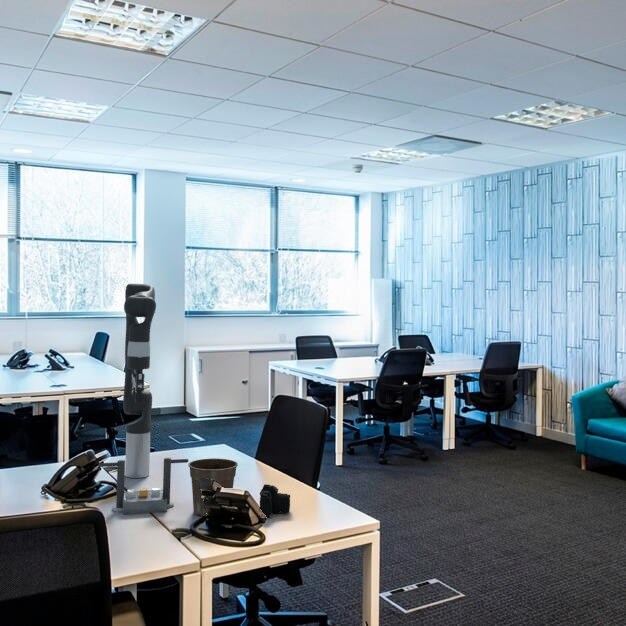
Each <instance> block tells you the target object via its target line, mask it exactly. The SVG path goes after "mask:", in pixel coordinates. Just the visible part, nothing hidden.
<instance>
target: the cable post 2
mask: <svg viewBox="0 0 626 626" xmlns="http://www.w3.org/2000/svg"><path fill="white" fill-rule="evenodd" d="M182 463H183V464H184V463H185V464H187V463H189V459H188V458H180V459H178V458H177V459H172V458H171V457H165V458H163V470H162V471H163V475H162V477H163V478H162V489H163V495H166V497H167V509H171V508H173V507H174V506H175V504H174V502H172V501H171V477H172V476H171V474H172V473H171V471H172V464H182Z"/></svg>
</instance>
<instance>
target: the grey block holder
mask: <svg viewBox="0 0 626 626" xmlns="http://www.w3.org/2000/svg"><path fill="white" fill-rule="evenodd" d="M166 512H168V508H167V497H166V495H163V488H162V489H161V488H160V487H152V488H151V490H150V489H149V490H148V496H143V497H140V490H136V489H133V488H132V489H127V491H124V497H123V498H122V515H123V516H127V515H137V514H138V515H140V514H152V513H153V514H154V513H166Z"/></svg>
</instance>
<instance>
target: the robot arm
mask: <svg viewBox="0 0 626 626" xmlns="http://www.w3.org/2000/svg"><path fill="white" fill-rule="evenodd" d="M155 291H156V290H155V288H154V286H153V285H152V284H148V283H128V284H127V285H126V287H125V294H124V297H125V299H124V304H123V310H124V313H125V341H124V342H125V343H124V368H125V369H124V371H125V372H124V385H123V386H124V388H123V400H122V402H123V403H122V408H123V409H122V410H123V412H124V414H126V415H136V416H137V415H139V416H141V415H142V417H141V418H140V419H138V420H136V421H134V422H129V423H128V424H127V425H126V431H125V434H126V435H125V477H127V478H129V479H130V478H131V479H141V478H142V479H143V478H146V477H149V476H150V467H151V466H150V463H151V462H150V461H151V460H150V459H151V458H150V457H151V456H150V454H151V429H152V428H151V424H152V408H153V394H152V391H149V390H145V389H144V387H145V377H146V375H145V373H143V370H149V369H150V365H151V341H150V340H151V327H152V323H153V319H154V315H155V313H156V309H157V303H156V292H155ZM138 318H144V320H143V321H142V322H139V320H138Z"/></svg>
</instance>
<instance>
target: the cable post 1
mask: <svg viewBox="0 0 626 626" xmlns="http://www.w3.org/2000/svg"><path fill="white" fill-rule="evenodd" d="M125 462H126V459H125V460H124V459H120V460H117V462H99V464H98V467H100V468H105V467H106V468H107V467H116V468H117V469H116V470H117V473H116V501H115V504H116V505H113V506H112V507H111V510H112V512H115V513H117V512H118V513H120V512H122V498H123V497H124V492H125V477H126V476H125Z"/></svg>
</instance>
